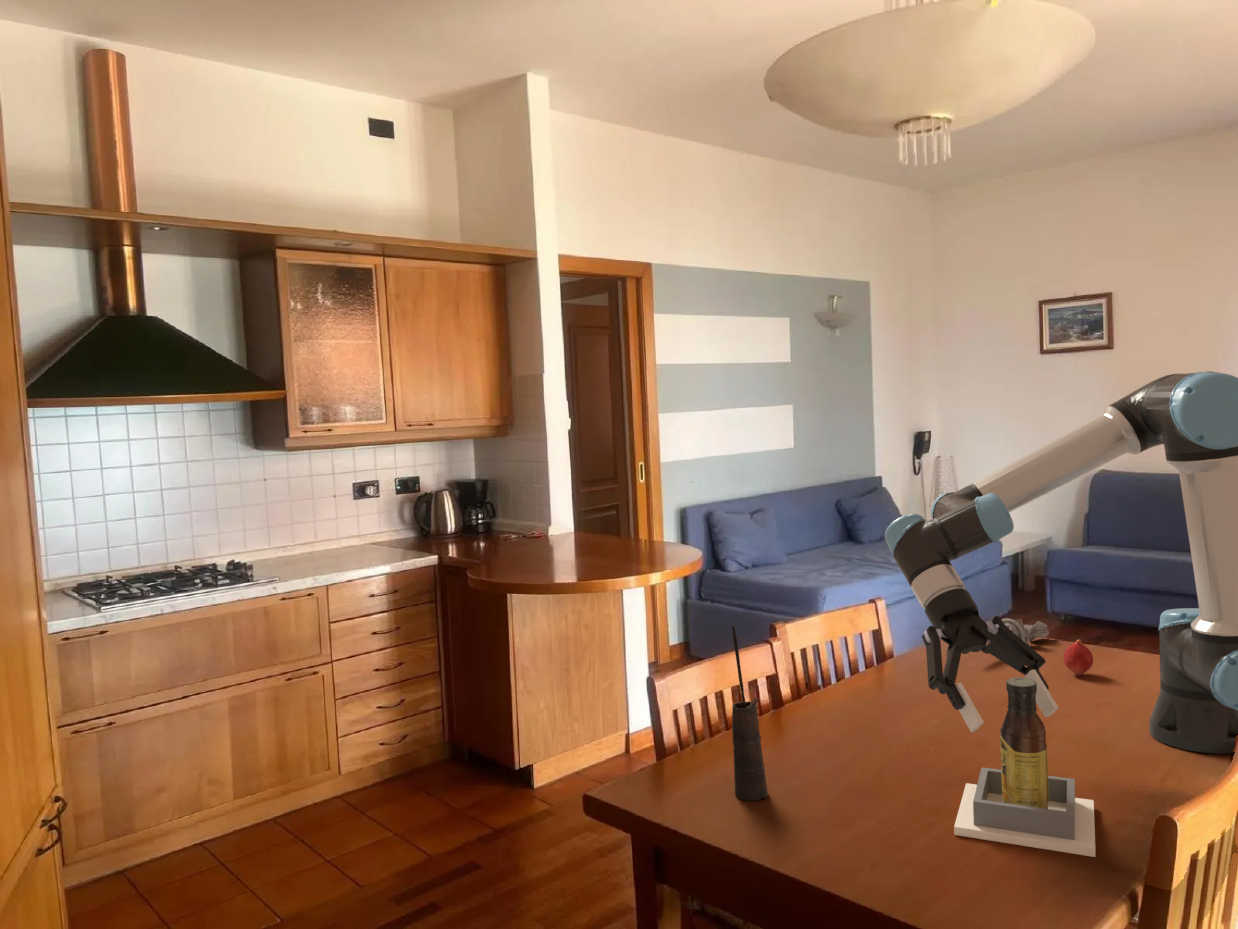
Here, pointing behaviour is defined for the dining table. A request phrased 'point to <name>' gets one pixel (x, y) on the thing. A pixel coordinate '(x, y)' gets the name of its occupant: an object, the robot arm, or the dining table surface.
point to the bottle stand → (1027, 816)
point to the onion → (1078, 658)
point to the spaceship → (1026, 630)
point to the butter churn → (747, 745)
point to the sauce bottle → (1023, 748)
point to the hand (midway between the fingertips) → (1015, 720)
